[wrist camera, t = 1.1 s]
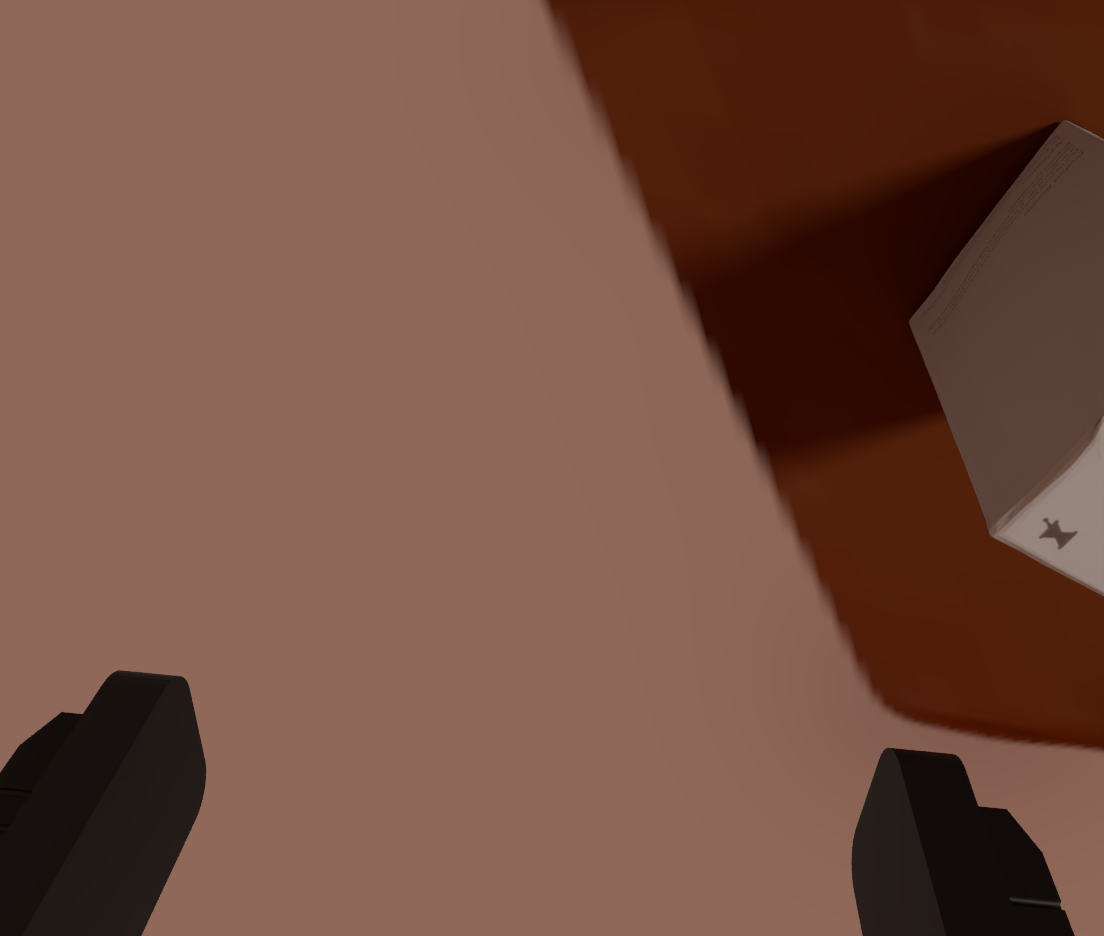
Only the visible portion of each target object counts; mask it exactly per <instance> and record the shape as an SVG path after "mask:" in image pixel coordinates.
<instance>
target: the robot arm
mask: <svg viewBox="0 0 1104 936" xmlns="http://www.w3.org/2000/svg"><path fill="white" fill-rule="evenodd" d="M205 782H206V764H205V758H204V753H203V749H202V744H201V739H200V735H199V730H198V725H197V721H196V716H195V711H194V707H193V702H192V697H191V693H190V688H189V685H188V683H187V681H186V680H185V678H183V677H181V676H172V675H162V674H151V673H141V672H131V671H116V672H114V673H112V674H111V675H110V676H109V677H108V678H107V679H106V681H105V682H104V683H103V685H102V686H101V687H100V689H99V690H98V692H97V694H96V695H95V697H94V698H93V700H92V701H91V703H90V704H89V706H88V707H87V709H86V710H85V712H84V713H83V714H74V713H65V712H61V713H60V714H59V715H58V716H56V717H55V718H54V719H52V720H51V721H50V722H49V723H47V724H46V725H45V726H44V727H42V728H41V729H40V730H39V731H37V732H36V733H35V734H34V735H32V736H31V737H30V738H28V739H27V740H26V741H25V742H23V743H22V744H21V745H20V746H19V747H18V748H17V750H16V751H15V753H14V754H13V755H12V757H11V758H10V759H9V761H8V762H7V764H6V765H5V767H4V768H3V770H2V771H1V773H0V936H141V935H142V933H143V931H144V929H145V926H146V924H147V922H148V920H149V918H150V916H151V914H152V912H153V910H154V907H155V905H156V903H157V901H158V899H159V897H160V894H161V892H162V890H163V888H164V886H165V884H166V882H167V879H168V877H169V875H170V873H171V871H172V869H173V867H174V865H175V863H176V860H177V858H178V856H179V854H180V852H181V850H182V848H183V846H184V843H185V841H186V839H187V837H188V835H189V833H190V831H191V828H192V826H193V824H194V822H195V820H196V818H197V815H198V812H199V809H200V806H201V803H202V799H203V795H204V789H205ZM852 879H853V887H854V893H855V898H856V904H857V908H858V914H859V919H860V924H861V929H862V934H863V936H1075V935H1074V933H1073V931H1072V928H1071V925H1070V923H1069V920H1068V917H1067V915H1066V912H1065V910H1062V909H1061V906H1060V903H1061V899H1060V897H1059V894H1058V892H1057V889H1056V887H1055V884H1054V882H1053V879H1052V876H1051V874H1050V871H1049V869H1048V866H1047V864H1046V862H1045V859H1044V856H1043V853H1042V852H1041V851H1040V849H1039V848H1038V847H1037V846H1036V844H1035V843H1034V842H1033V841H1032V840H1031V839H1030V837H1029V836H1028V835H1027V833H1026V832H1025V831H1024V830H1023V829H1022V827H1021V826H1020V825H1019V824H1018V823H1017V821H1016V820H1015V819H1014V818H1013V816H1012V815H1011V814H1010V813H1009V812H1008V810H1007V809H998V808H989V807H979V806H978V805H977V802H976V799H975V796H974V793H973V790H972V787H971V784H970V781H969V778H968V775H967V772H966V770H965V767H964V765H963V763H962V761H961V760H960V759H959V757H958V756H956V755H954V754H946V753H935V752H926V751H915V750H904V749H894V748H887V749H885V750H884V751H883V753H882V754H881V756H880V759H879V762H878V765H877V768H876V771H875V774H874V777H873V780H872V783H871V786H870V789H869V791H868V794H867V797H866V801H865V804H864V806H863V809H862V812H861V815H860V818H859V821H858V824H857V827H856V830H855V834H854V839H853V847H852Z"/></svg>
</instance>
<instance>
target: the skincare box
mask: <svg viewBox="0 0 1104 936" xmlns="http://www.w3.org/2000/svg"><path fill="white" fill-rule="evenodd" d="M909 325H910V327H911V330H912V332H913V335H914V337H915V340H916V342H917V345H918V347H919V349H920V352H921V354H922V357H923V360H924V362H925V365H926V367H927V370H928V372H929V375H930V377H931V379H932V382H933V385H934V387H935V390H936V392H937V395H938V397H939V400H940V402H941V405H942V408H943V411H944V413H945V415H946V418H947V420H948V423H949V426H950V428H951V431H952V434H953V436H954V439H955V441H956V444H957V446H958V449H959V451H960V454H961V456H962V459H963V461H964V464H965V466H966V469H967V471H968V474H969V477H970V479H971V482H972V484H973V487H974V490H975V492H976V495H977V497H978V500H979V502H980V505H981V508H982V511H983V513H984V516H985V519H986V523H987V526H988V530H989V534H990V535H991V536H992V537H993V538H995V539H997V540H999V541H1001V542H1003V543H1005V544H1007V545H1009V546H1011V547H1013V548H1015V549H1017V550H1019V551H1020V552H1022V553H1024V554H1026V555H1027V556H1029V557H1031V558H1033V559H1034V560H1036V561H1038V562H1040V563H1042V564H1043V565H1045V566H1047V567H1049V568H1051V569H1053V570H1055V571H1057V572H1059V573H1060V574H1062V575H1064V576H1066V577H1068V578H1070V579H1072V580H1074V581H1076V582H1078V583H1080V584H1081V585H1083V586H1085V587H1087V588H1089V589H1091V590H1093V591H1095V592H1097V593H1099V594H1100V595H1102V596H1104V139H1102V138H1100V137H1098V136H1096V135H1095V134H1093V133H1091V132H1089V131H1087V130H1085V129H1083V128H1081V127H1079V126H1077V125H1075V124H1073V123H1071V122H1069V121H1062V122H1061V123H1060V124H1059V126H1058V127H1057V128H1056V129H1055V130H1054V132H1053V133H1052V134H1051V135H1050V137H1049V138H1048V139H1047V140H1046V141H1045V143H1044V144H1043V145H1042V147H1041V148H1040V149H1039V151H1038V152H1037V153H1036V155H1035V156H1034V157H1033V158H1032V160H1031V161H1030V162H1029V164H1028V165H1027V166H1026V168H1025V169H1024V170H1023V172H1022V173H1021V174H1020V175H1019V177H1018V178H1017V179H1016V181H1015V182H1014V183H1013V184H1012V186H1011V187H1010V188H1009V190H1008V191H1007V192H1006V193H1005V195H1004V196H1003V197H1002V199H1001V200H1000V201H999V203H998V204H997V205H996V206H995V208H994V209H993V210H992V212H991V213H990V214H989V216H988V217H987V218H986V219H985V221H984V222H983V223H982V225H981V226H980V227H979V229H978V230H977V231H976V232H975V234H974V235H973V236H972V238H971V239H970V240H969V242H968V243H967V244H966V246H965V247H964V248H963V250H962V251H961V252H960V254H959V255H958V256H957V257H956V259H955V260H954V262H953V263H952V264H951V266H950V267H949V269H948V270H947V271H946V273H945V274H944V276H943V277H942V279H941V280H940V281H939V283H938V284H937V286H936V287H935V289H934V290H933V292H932V293H931V294H930V295H929V297H928V298H927V299H926V300H925V302H924V303H923V304H922V305H921V306H920V308H919V309H918V310H917V311H916V313H915V314H914V315H913V316H912V317H911V319H910V320H909Z"/></svg>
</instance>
